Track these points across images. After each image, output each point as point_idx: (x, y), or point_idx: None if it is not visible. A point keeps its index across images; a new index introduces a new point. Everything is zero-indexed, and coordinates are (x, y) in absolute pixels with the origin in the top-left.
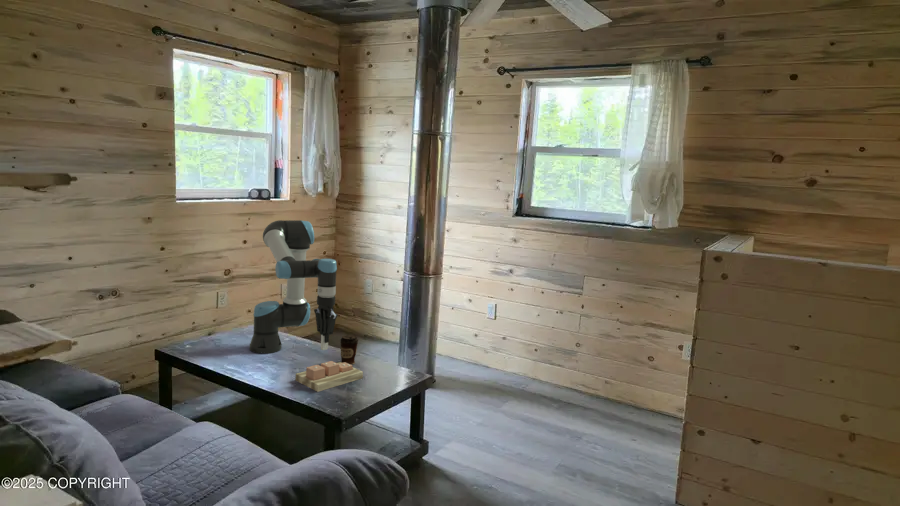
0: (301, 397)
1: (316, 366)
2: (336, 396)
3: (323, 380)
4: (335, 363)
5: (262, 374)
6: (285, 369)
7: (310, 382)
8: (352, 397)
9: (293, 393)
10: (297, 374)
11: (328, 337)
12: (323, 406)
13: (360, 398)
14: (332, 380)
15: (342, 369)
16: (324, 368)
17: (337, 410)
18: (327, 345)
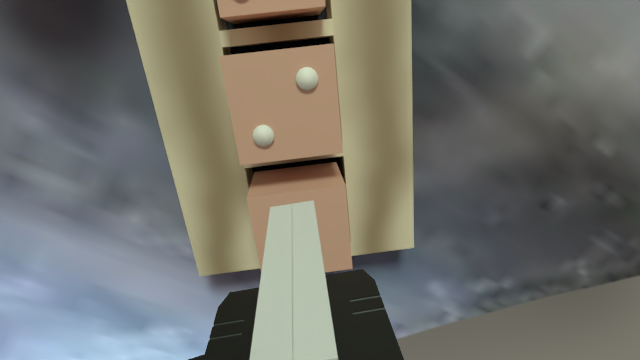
0: (408, 306)
1: None
2: (503, 181)
3: (377, 195)
4: (305, 67)
5: (56, 344)
6: (15, 233)
7: None
8: (569, 121)
9: None
10: (215, 272)
11: (393, 343)
12: (542, 273)
13: (608, 93)
14: (410, 152)
15: (322, 7)
16: (345, 190)
17: (612, 246)
18: (318, 231)
